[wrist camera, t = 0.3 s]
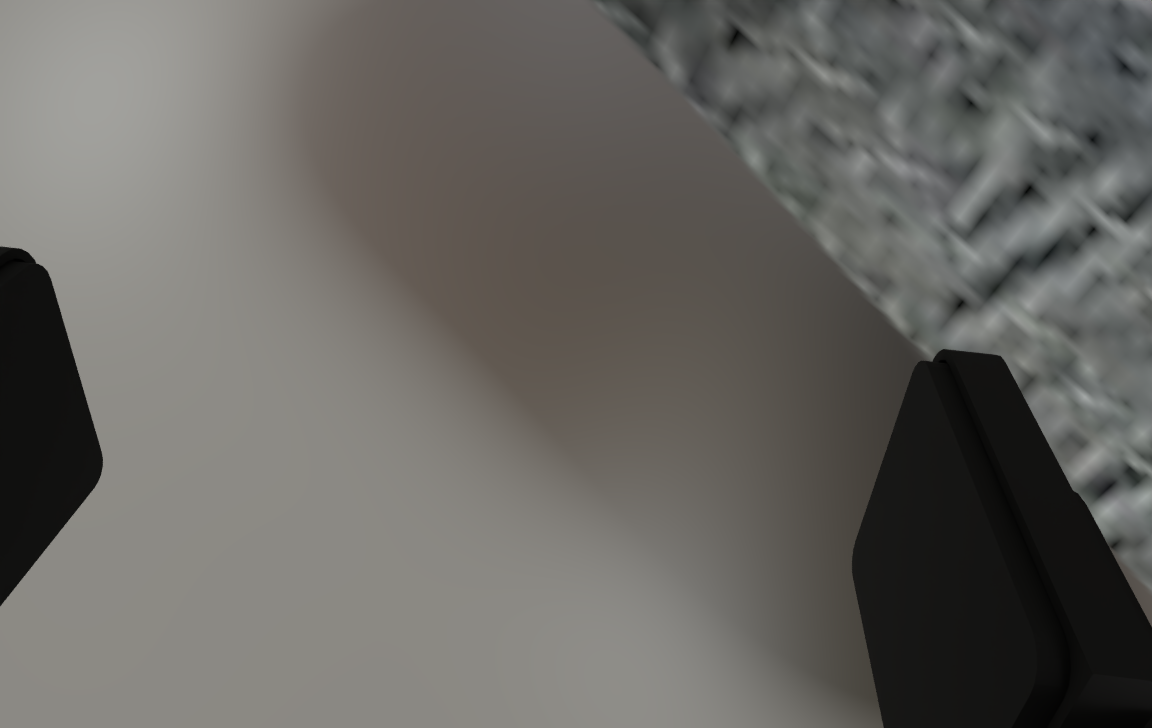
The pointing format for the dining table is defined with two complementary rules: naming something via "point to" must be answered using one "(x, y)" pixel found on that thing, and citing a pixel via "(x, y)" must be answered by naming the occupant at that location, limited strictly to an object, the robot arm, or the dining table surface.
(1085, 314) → the dining table surface
